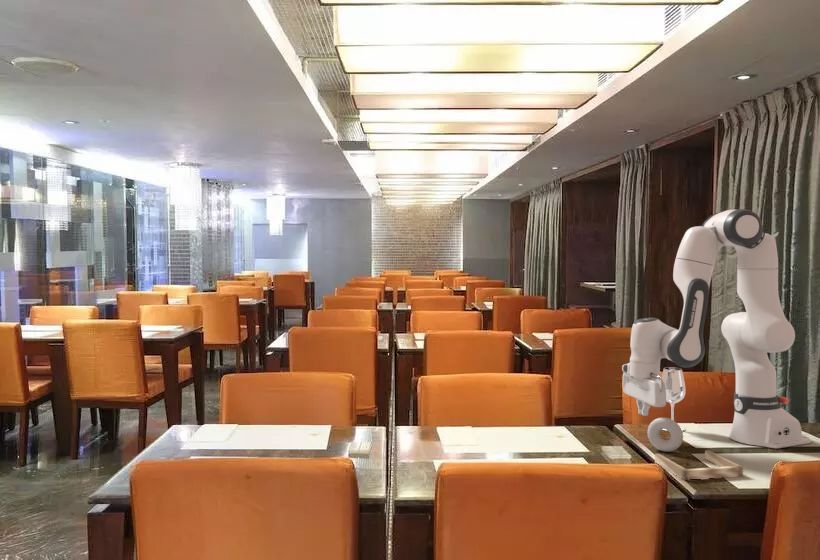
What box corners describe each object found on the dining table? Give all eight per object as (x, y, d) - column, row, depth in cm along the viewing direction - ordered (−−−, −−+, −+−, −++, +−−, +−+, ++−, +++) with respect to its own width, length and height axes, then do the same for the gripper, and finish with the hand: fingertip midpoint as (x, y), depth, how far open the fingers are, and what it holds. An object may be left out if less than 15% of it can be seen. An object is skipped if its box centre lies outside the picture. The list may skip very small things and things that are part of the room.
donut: (684, 452, 189) (684, 418, 189) (681, 455, 186) (681, 421, 186) (649, 447, 195) (649, 414, 194) (645, 449, 192) (645, 416, 192)
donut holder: (708, 458, 183) (708, 450, 183) (742, 476, 169) (742, 466, 169) (654, 462, 181) (654, 453, 181) (684, 480, 166) (684, 471, 166)
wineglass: (672, 433, 209) (672, 371, 208) (654, 427, 216) (654, 367, 215) (690, 430, 212) (691, 369, 211) (672, 424, 219) (672, 365, 218)
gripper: (672, 376, 191) (671, 423, 191) (637, 364, 211) (636, 406, 212) (652, 376, 190) (651, 423, 190) (619, 364, 210) (618, 407, 211)
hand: (643, 414), depth 201 cm, fingers closed
